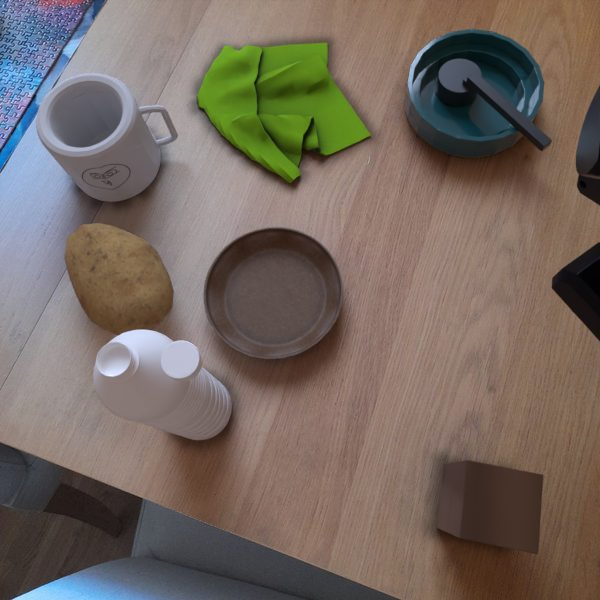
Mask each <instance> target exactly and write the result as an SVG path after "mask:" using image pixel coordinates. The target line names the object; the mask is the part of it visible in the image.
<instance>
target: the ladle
mask: <svg viewBox="0 0 600 600" xmlns="http://www.w3.org/2000/svg"><path fill="white" fill-rule="evenodd" d="M436 94H437V96H438V98H439V99H440V100H441V101H442V102H444V103H446V104H448V105H451V106H463V105H466V104H469V103H470V102H472V101H473V100H474V99H475V97H476V96H477V94H478V95H480V96H481V97H482V98H483V99H484V100H485V101H486V102H487V103H488V104H489V105H491V106H492V107H493V108H494V109H495V110H496V111H497V112H498V113H499V114H500V115H502V116H503V117H504V118H505V119H506V120H507V121H508V122H509V123H510V124H511V125H513V126H514V127H515V128H516V129H517V130H518V131H519V132H520V133H521V134H522V135H524V136H523V137H524V138H525V139H526V140H528V141H529V142H530V143H531V144H532V145H533V146H534V147H535V148H536V149H538V151H540V152H544V150H545V151H546V149H547V148H549V147H551V144H552V142H553V139H551V138H550V137H549V136H548V135H547V134H546V133H545V132H544V131H542V130H541V128H539V127H538V126H537V125H535V123H533V121H532V122H531V121H530V120H529V119H528V118H527V117H525V116H524V115H523V114H522V113H521V112H520V111H519V110H518V109H517V108H515V107H514V106H513V105H512V104H511V103H510V102H509V101H508V100H506V99H505V98H504V97H503V96H502V95H501V94H500V93H499V92H497V91H496V90H495V89H494V88H493V87H492V86H491V85H490V84H489V83H487V82H486V81H485V80H484V79H483V78H482V73H481V70H480V68H479V67H478V66H477V65H476V64H475V63H474V62H472V61H470V60H467V59H453V60H450V61H448V62H446V63H445V64H443V65H442V67H441V68H440V70H439V73H438V78H437V83H436Z"/></svg>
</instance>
